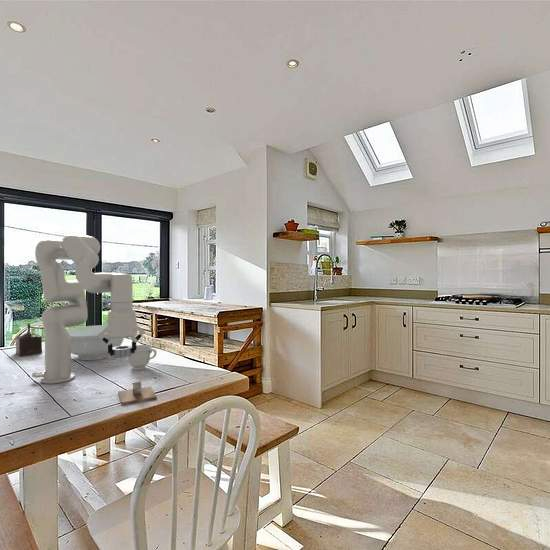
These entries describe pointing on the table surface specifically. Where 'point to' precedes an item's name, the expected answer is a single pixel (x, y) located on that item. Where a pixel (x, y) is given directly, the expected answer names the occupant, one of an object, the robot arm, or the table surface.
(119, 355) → the ring
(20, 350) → the dark boxy spouted shape
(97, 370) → the table surface
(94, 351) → the bowl
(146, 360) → the teacup
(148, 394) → the brown base with peg
